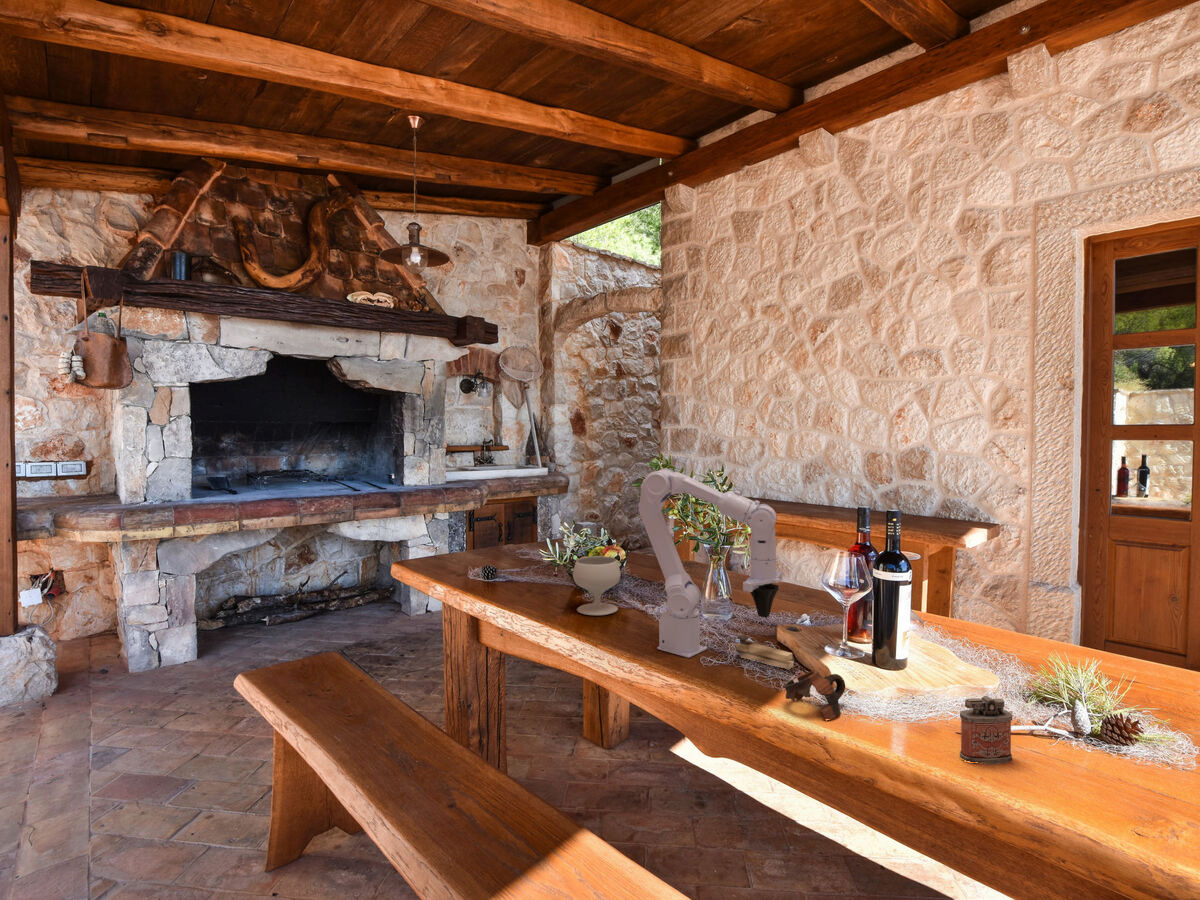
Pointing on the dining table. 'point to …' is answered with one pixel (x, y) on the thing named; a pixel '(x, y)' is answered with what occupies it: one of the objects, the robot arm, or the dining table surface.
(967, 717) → the lighter
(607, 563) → the chalice
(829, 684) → the dark brown angled piece
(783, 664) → the tongs base
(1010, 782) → the dining table surface
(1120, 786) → the dining table surface
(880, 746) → the dining table surface
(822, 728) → the dining table surface
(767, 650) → the bar
